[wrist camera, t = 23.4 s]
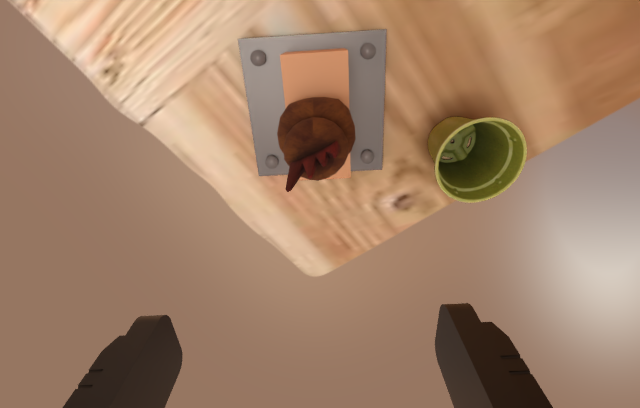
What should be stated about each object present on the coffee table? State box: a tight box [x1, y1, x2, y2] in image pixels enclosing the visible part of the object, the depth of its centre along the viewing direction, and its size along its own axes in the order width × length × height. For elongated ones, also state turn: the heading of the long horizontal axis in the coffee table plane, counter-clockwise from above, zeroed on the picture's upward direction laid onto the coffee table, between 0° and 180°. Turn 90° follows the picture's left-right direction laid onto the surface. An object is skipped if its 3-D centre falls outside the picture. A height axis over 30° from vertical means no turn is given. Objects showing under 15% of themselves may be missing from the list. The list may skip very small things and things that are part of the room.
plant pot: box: [428, 117, 527, 202], centre depth 38 cm, size 9×9×9 cm
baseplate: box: [238, 29, 386, 176], centre depth 39 cm, size 16×16×2 cm
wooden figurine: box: [277, 97, 356, 192], centre depth 27 cm, size 7×6×15 cm
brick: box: [280, 48, 351, 180], centre depth 36 cm, size 6×13×6 cm, turn 4°
